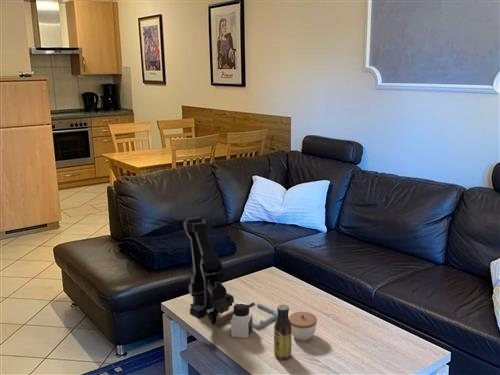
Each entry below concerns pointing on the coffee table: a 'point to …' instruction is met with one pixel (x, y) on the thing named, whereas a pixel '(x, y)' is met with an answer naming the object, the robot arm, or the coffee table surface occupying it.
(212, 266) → the robot arm
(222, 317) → the wooden plank
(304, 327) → the lidded jar
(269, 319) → the grey angle bracket
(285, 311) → the sauce bottle
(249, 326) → the medicine bottle
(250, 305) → the rail
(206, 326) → the coffee table surface
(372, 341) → the coffee table surface
